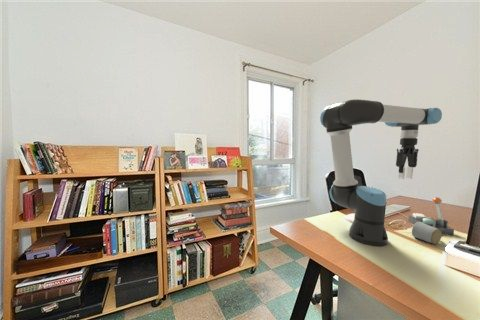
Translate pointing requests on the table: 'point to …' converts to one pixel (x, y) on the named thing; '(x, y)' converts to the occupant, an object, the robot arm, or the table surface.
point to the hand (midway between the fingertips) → (405, 178)
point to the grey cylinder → (426, 233)
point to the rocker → (418, 216)
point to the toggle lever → (438, 207)
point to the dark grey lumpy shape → (435, 225)
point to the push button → (428, 221)
